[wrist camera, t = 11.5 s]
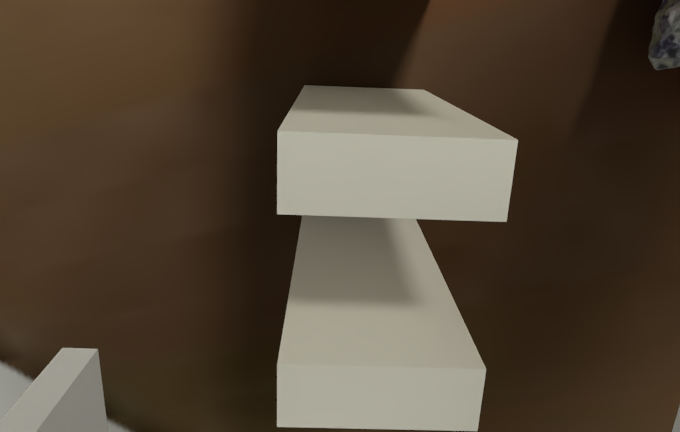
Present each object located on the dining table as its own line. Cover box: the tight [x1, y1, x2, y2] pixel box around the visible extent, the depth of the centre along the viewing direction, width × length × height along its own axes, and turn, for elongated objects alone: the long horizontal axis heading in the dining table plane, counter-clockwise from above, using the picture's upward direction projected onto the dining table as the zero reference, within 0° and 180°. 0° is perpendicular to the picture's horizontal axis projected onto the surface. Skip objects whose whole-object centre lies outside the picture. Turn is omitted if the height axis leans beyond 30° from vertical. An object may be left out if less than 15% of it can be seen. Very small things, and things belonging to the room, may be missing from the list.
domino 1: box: [277, 85, 518, 222], centre depth 17 cm, size 2×5×12 cm, turn 88°
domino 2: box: [277, 215, 486, 431], centre depth 19 cm, size 2×5×12 cm, turn 88°
